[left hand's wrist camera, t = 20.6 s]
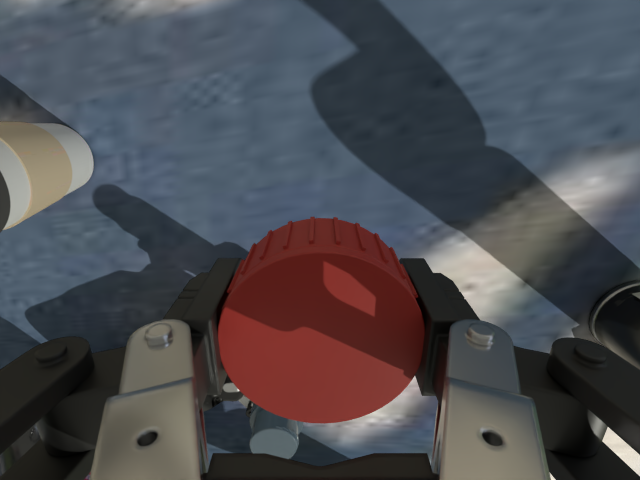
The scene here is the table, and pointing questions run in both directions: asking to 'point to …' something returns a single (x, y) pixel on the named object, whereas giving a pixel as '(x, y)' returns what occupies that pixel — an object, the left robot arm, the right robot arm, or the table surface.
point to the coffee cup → (39, 167)
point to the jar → (273, 433)
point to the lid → (321, 323)
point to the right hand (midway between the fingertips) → (310, 339)
